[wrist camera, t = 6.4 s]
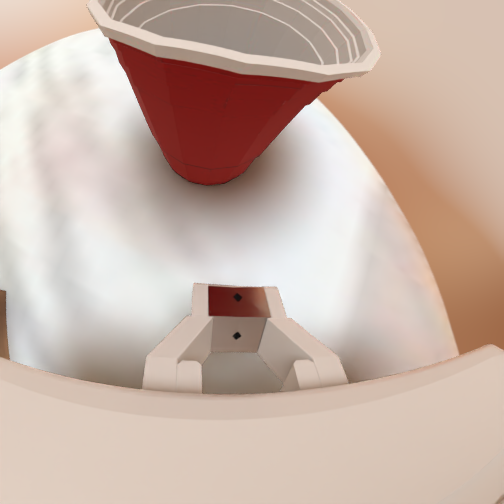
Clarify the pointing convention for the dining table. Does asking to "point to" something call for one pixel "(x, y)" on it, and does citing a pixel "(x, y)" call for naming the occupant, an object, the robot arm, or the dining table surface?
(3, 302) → the walnut block
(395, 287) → the dining table surface
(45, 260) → the dining table surface
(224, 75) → the plastic cup
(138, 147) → the dining table surface
